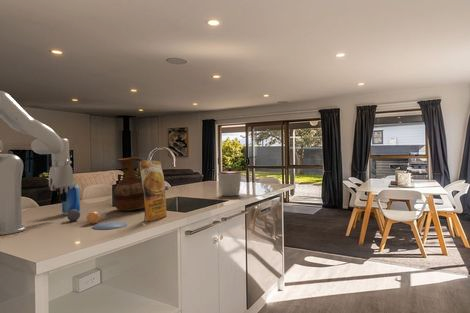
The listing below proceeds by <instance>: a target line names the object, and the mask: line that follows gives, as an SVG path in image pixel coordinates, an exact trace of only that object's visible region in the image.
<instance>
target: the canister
mask: <svg viewBox="0 0 470 313" xmlns="http://www.w3.org/2000/svg"><path fill="white" fill-rule="evenodd" d="M242 174H243V173H242V172H240V171H238V170H233V168H232V167H231V166H229V167H227V170H225V171H220V172H218V173H217V175H218V182H219V189H220V190H219V191H220V194H221V195H222V196H223V197H236V196H238V195H239V194H240V190H241V189H240V188H241V182H242V181H241V180H242Z"/></svg>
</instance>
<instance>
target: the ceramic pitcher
mask: <svg viewBox="0 0 470 313" xmlns="http://www.w3.org/2000/svg"><path fill="white" fill-rule="evenodd" d="M142 160H143V159H142V158H140V157H138V156H133V157H126V158H125V157H124V158H119V159H117V161H118V162H119V163H120V164H121V171H122V173H123V176H122V179H121V180H119V182H118V183H117V184H116V187H115V190H114V193H113V203H114V204H113V205H114V207H115V208H116V209H117V210H119V211H136V210H140V209H143V208H145V205H144V193H143V189H142V184H141V176H139V177H138V176H137V175H136V172H135V163H136V162H137V161H139V163H140V162H141V161H142Z"/></svg>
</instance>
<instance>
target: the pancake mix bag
mask: <svg viewBox="0 0 470 313" xmlns="http://www.w3.org/2000/svg"><path fill="white" fill-rule="evenodd" d="M138 165H139V168H138V169H139V174H140V177H141V184H142V189H143V193H144V205H145V207H144V217H143V218H144V219H143V221H144V222H153V221H157V220H160V219H163V218H166V217H167V216H168V215H167V201H166V200H167V199H166V182H165V176H164V171H163V168H162V167H163V166H162V162H161V160H150V159H149V160H146V159H142V161H141V162H140V161H139V164H138Z"/></svg>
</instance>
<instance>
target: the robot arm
mask: <svg viewBox="0 0 470 313" xmlns="http://www.w3.org/2000/svg"><path fill="white" fill-rule="evenodd" d="M0 118H1V120H3V121H4V123H6V124H7V125H8V126H9V127H10V128H11V129H12V130H14V131H16V132H19V133H22V134H25V135H27V136H31V137H33V138H35V139H33V141H32V142H31V144H30V148H31V151H33V152H34V153H36V154H38V155H51V166H50V168H49V173H48V187H49V188H50V189H49V190H50V191H54V192H56V193H57V194H58V200H59V202H61V203H62V202H64V201H66V199H67V192H68V190H69V189H71V188H73V184H74V183H75V180H74V179H75V178H74V172H73V167H72V166H71V164H73V162H72V160H71V158H70V142H69V139H67V138H61V137H60V136H59V135H58V134H57V133H56V132H55V131H54V130H53V129H52V128H51V127H49V126H48V125H47V124H44V123H42V122H41V121H40V120H37V119H35V118H34V117H32V116H31V115H30V114H29V113H28V112H27V111H26V110H25V109H24V108H23V107H22V106H21V105H20V104H19V103H18V102H17V101H16V100H15V99H14V98H13V97H12V96H11V95H10V94H9V93H8V92H6V91H3V90H0ZM3 149H4V144H3V142H2V140H1V139H0V236H2V235H4V236H5V235H12V234H16V233H20V232H24V231H26V230H27V226H26V225H23V224H22V222H23V220H22V176H23V172H24V162H23V160H22V159H21V157H19V156H18V155H16V154H14V153H13V154H12V153H1V152H2V151H3Z"/></svg>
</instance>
